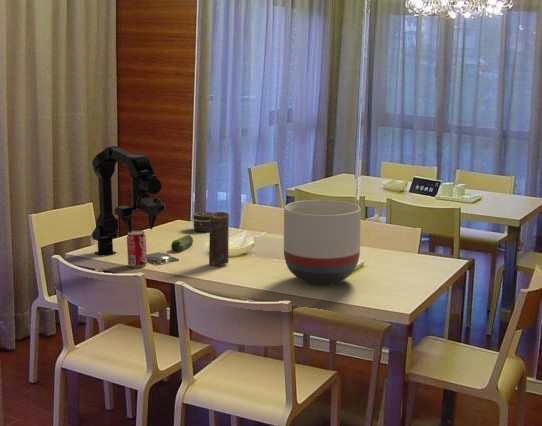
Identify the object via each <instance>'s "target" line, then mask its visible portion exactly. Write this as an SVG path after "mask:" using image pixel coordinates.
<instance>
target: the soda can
mask: <svg viewBox="0 0 542 426" xmlns="http://www.w3.org/2000/svg"><path fill="white" fill-rule="evenodd" d="M126 246H127V247H126V248H127V249H126V250H127V264H128V265H129V267H130V266H131V267H130V268H133V267H134V269H135V268H136V269H138V267H140V268H143V266H144V267H145V266H146V265H147V264H148V262H147V236H146V234H145V231H143V230H131V233H129V232H128V231H127V236H126Z"/></svg>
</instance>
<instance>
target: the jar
mask: <svg viewBox="0 0 542 426" xmlns="http://www.w3.org/2000/svg"><path fill="white" fill-rule="evenodd" d="M212 213H213V212H211V211H201V212H195V213H193V216H192V220H193V230H194V231H195V232H196V233H200V234H201V233H202V234H203V233H205V234H207V233H209V234H210V215H211V214H212Z"/></svg>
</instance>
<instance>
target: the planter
mask: <svg viewBox="0 0 542 426" xmlns="http://www.w3.org/2000/svg"><path fill="white" fill-rule="evenodd" d="M361 209H362V208H361V207H360V206H359V205H358V204H356V203H352V202H348V201H341V200H330V199H329V200H328V199H308V200H300V201H299V200H298V201H294V202H290V203H287V204H286V205H284V208H283V256H284V260H285V264H286V267H287V268H288V270H289V271H290V272H291V274H292V275H293V276H295V277H296V278H297V279H299V280H300V281H301V282H304V283H307V284H310V285H317V286H327V285H334V284H338V283H339V282H340V283H341V282H342V281H345V280H346V279H347V278H348V277H349V276H351V275H352V274H353V272H355V270H356V268H357V266H358V264H359V259H360V255H361V254H360V253H361V225H362V224H361V223H362V221H361V220H362V219H361V218H362V217H361V216H362V210H361Z"/></svg>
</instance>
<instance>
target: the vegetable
mask: <svg viewBox="0 0 542 426" xmlns="http://www.w3.org/2000/svg"><path fill="white" fill-rule="evenodd" d="M193 244H194V240H193V236H191V235H190V234H186V235H184V236H182V237H180V238H179V237H178V239H175V240H173V241H172V243H171V246H170V247H171V249H172V251H173V252H175V253H177V252H182V251H183V250H185V249H187V248H190V247H191V246H192V245H193Z"/></svg>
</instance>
